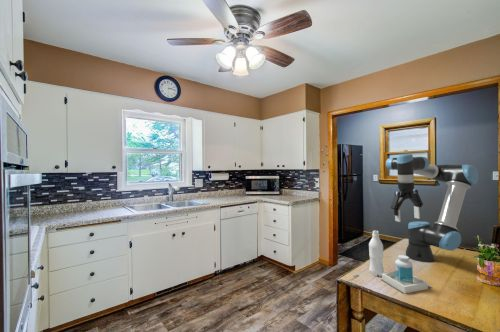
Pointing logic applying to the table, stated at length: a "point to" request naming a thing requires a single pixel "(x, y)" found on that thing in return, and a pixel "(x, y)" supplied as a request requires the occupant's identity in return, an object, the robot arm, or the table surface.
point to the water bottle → (376, 255)
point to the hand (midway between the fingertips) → (407, 219)
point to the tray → (416, 286)
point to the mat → (399, 290)
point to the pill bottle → (404, 270)
